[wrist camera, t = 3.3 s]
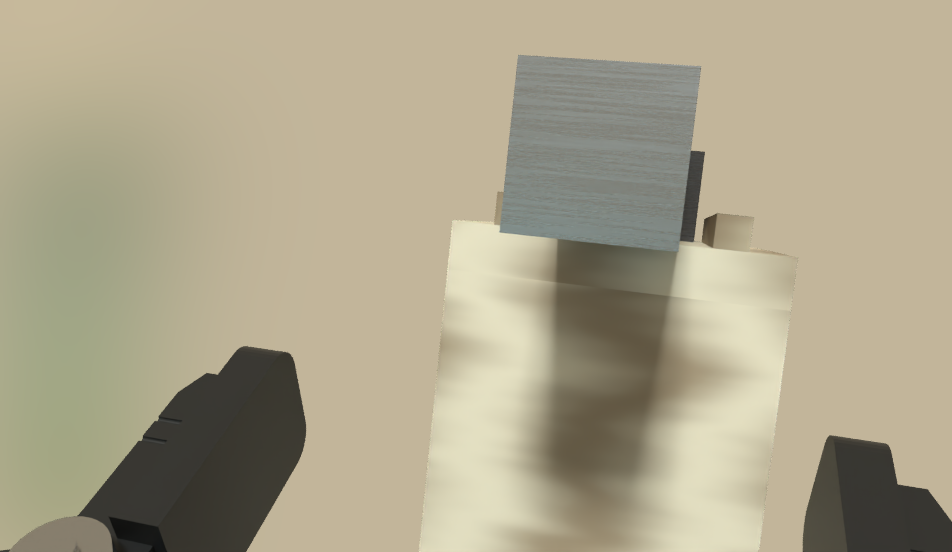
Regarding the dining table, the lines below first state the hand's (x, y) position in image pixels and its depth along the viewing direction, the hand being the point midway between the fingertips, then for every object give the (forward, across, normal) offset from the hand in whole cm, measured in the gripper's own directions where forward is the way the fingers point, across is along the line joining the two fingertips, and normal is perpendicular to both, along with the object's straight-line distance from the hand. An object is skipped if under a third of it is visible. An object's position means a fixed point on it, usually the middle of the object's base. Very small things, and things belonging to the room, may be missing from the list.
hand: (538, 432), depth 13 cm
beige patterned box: (+2, 0, +35) cm, 35 cm away
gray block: (+14, 0, +5) cm, 15 cm away
